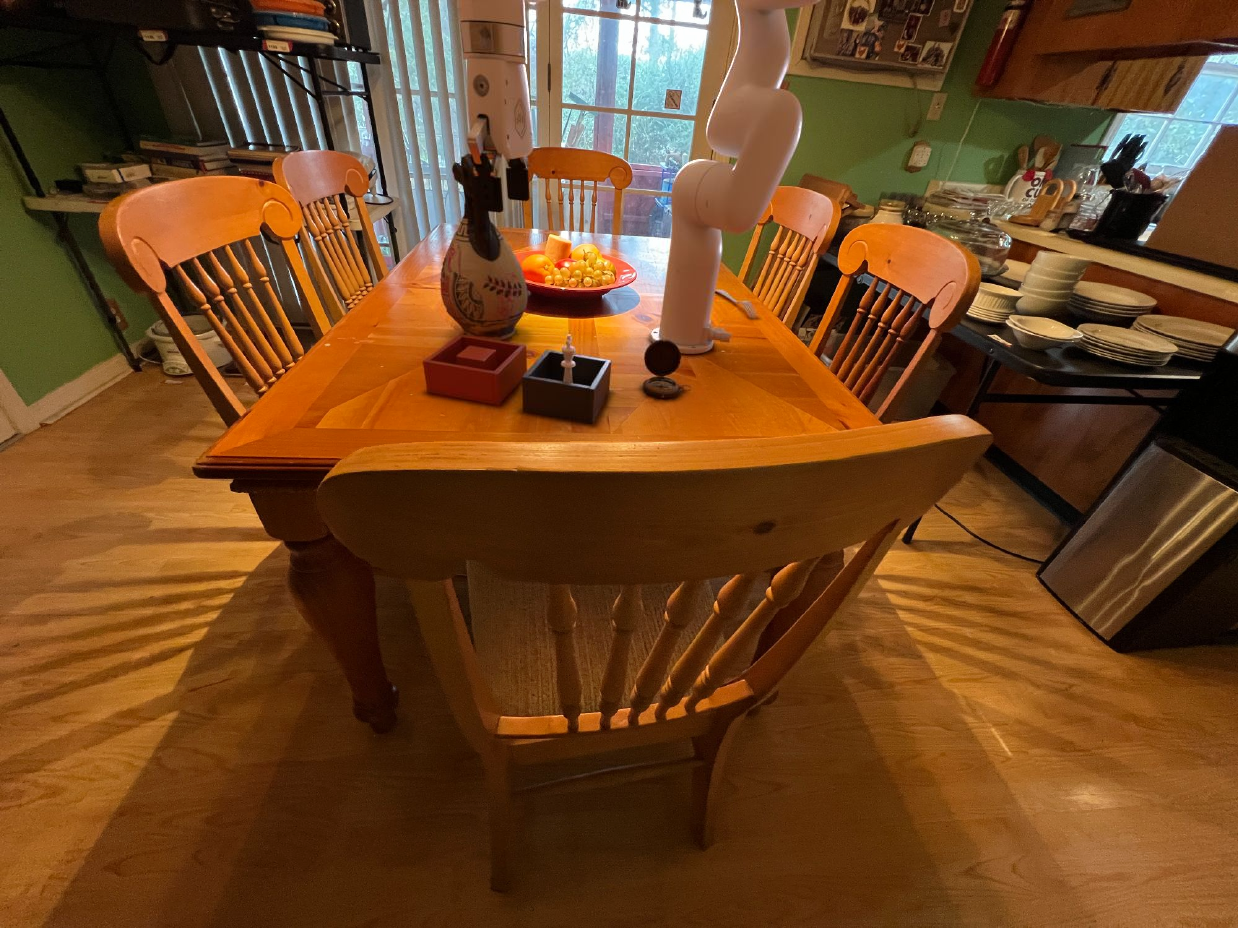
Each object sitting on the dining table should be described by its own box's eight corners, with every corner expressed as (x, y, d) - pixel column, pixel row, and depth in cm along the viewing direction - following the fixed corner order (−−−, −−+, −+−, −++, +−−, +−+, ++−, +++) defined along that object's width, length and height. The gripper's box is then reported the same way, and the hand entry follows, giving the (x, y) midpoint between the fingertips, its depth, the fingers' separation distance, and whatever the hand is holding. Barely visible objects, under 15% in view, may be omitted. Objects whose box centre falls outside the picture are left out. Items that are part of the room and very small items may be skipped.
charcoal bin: (609, 392, 81) (611, 360, 78) (592, 424, 73) (594, 389, 69) (546, 381, 83) (546, 349, 79) (522, 411, 74) (521, 377, 71)
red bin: (527, 374, 84) (526, 345, 81) (499, 405, 75) (497, 374, 72) (462, 362, 86) (459, 334, 83) (427, 392, 76) (422, 361, 73)
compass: (643, 398, 80) (648, 355, 76) (641, 377, 87) (646, 336, 83) (693, 402, 81) (700, 359, 77) (687, 380, 87) (694, 340, 83)
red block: (497, 376, 81) (496, 349, 79) (486, 387, 78) (483, 360, 75) (471, 371, 82) (469, 345, 79) (458, 383, 78) (455, 356, 76)
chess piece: (547, 403, 75) (547, 339, 70) (556, 388, 79) (556, 327, 74) (579, 407, 75) (582, 344, 69) (586, 393, 79) (589, 331, 73)
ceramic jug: (440, 322, 100) (417, 144, 83) (517, 317, 106) (511, 150, 88) (453, 356, 88) (430, 155, 70) (540, 349, 93) (537, 161, 76)
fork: (720, 299, 135) (722, 289, 134) (759, 318, 118) (761, 306, 117) (711, 300, 135) (712, 289, 133) (748, 318, 117) (750, 306, 116)
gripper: (494, 40, 53) (507, 219, 63) (547, 54, 66) (551, 198, 76) (428, 37, 54) (451, 213, 64) (494, 51, 67) (504, 194, 78)
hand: (505, 205), depth 70 cm, fingers open, 9 cm apart
